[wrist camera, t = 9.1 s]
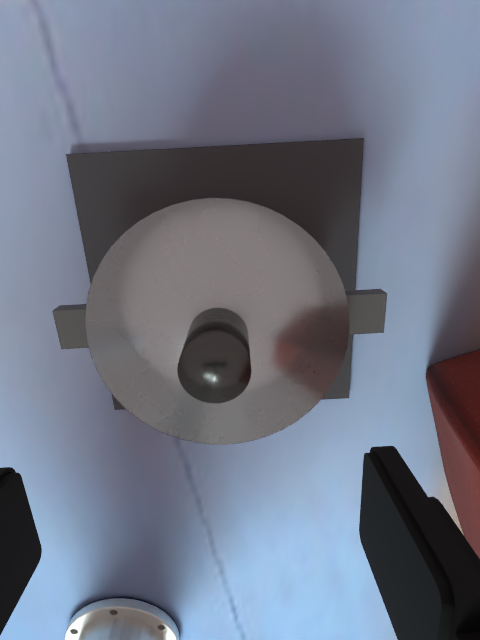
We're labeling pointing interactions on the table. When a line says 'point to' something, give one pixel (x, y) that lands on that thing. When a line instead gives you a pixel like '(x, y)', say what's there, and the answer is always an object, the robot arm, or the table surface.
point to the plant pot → (459, 435)
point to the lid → (217, 321)
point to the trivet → (228, 196)
